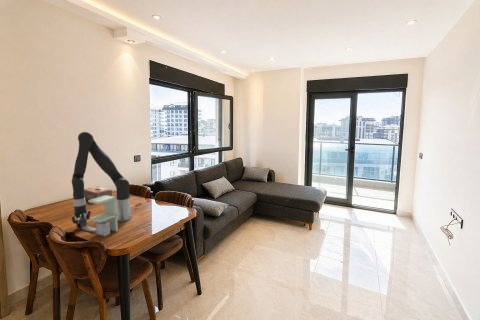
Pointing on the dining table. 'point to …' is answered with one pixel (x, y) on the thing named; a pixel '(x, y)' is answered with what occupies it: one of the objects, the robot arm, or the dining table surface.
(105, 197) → the shelf unit
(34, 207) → the dining table surface
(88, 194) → the tissue box cover
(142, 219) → the dining table surface
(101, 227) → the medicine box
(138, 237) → the dining table surface
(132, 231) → the dining table surface
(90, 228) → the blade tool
